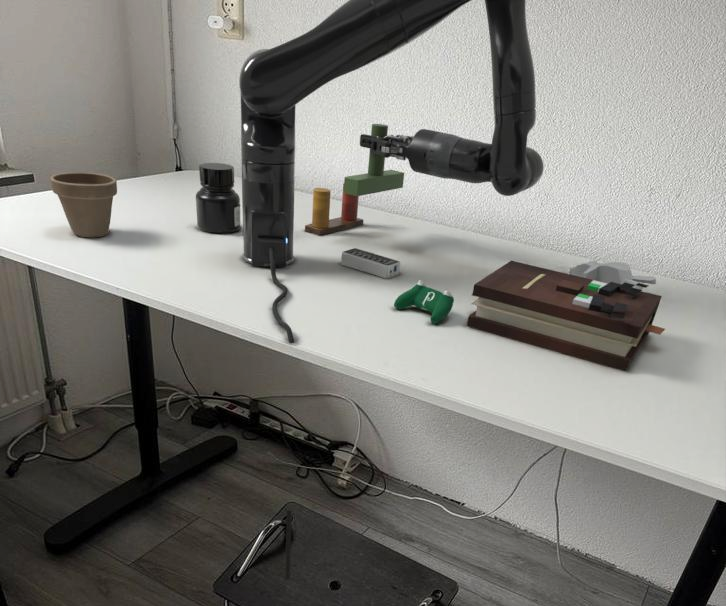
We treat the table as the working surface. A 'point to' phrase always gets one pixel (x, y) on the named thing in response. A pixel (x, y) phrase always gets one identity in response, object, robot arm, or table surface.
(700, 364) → the table surface
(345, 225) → the rod stand
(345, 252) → the multiport hub
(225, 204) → the ink bottle
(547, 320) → the decorative book
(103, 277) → the table surface
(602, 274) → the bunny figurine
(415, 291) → the gaming controller
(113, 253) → the table surface
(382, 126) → the green peg on base
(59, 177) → the flower pot
